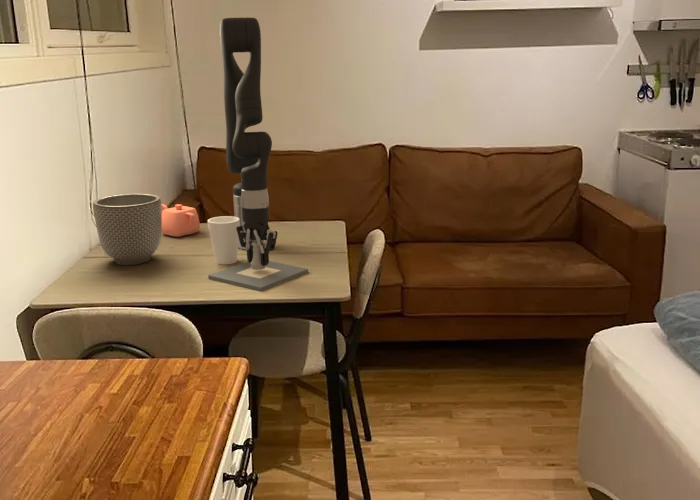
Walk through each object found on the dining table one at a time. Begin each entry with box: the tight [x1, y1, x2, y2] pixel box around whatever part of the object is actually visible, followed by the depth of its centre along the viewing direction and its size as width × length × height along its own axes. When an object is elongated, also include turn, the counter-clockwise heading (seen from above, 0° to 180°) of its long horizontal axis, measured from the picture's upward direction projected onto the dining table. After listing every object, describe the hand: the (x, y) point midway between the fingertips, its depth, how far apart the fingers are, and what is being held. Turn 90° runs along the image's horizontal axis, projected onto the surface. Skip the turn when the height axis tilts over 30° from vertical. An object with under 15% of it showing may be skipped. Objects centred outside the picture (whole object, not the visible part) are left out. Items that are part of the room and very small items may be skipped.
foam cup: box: [207, 215, 240, 265], centre depth 220 cm, size 10×9×13 cm
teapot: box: [161, 203, 201, 238], centre depth 255 cm, size 12×18×10 cm, turn 50°
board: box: [207, 260, 309, 292], centre depth 207 cm, size 20×20×1 cm
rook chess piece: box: [250, 240, 266, 270], centre depth 206 cm, size 4×4×8 cm
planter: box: [92, 193, 163, 266], centre depth 222 cm, size 20×20×19 cm
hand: (258, 263), depth 207 cm, fingers closed on rook chess piece, 4 cm apart
